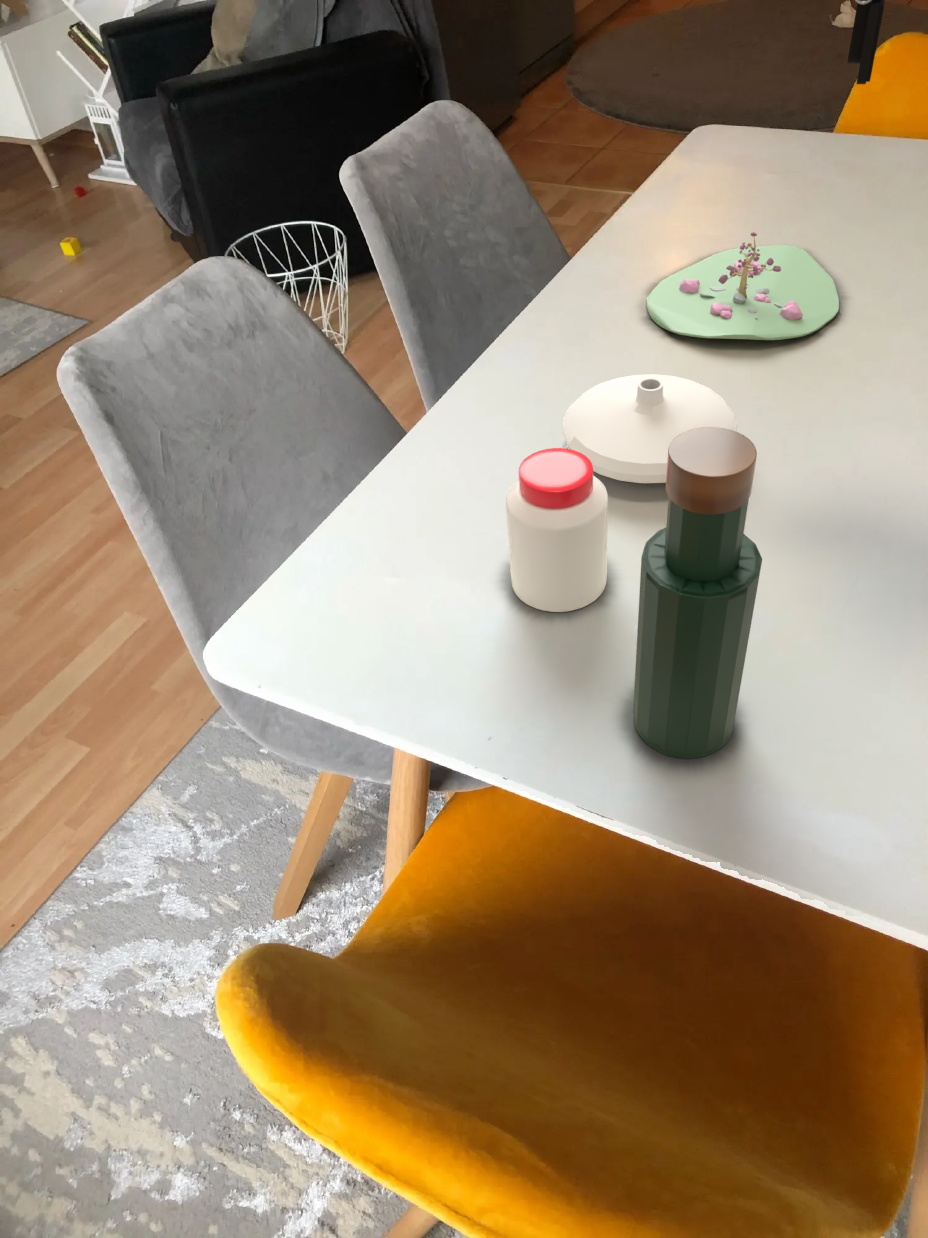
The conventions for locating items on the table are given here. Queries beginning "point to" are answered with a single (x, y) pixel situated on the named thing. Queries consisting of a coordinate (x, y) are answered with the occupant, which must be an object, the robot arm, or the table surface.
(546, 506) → the pill bottle
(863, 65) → the robot arm
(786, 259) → the plant
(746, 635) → the bottle
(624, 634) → the table surface
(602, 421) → the vase
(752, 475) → the stopper
